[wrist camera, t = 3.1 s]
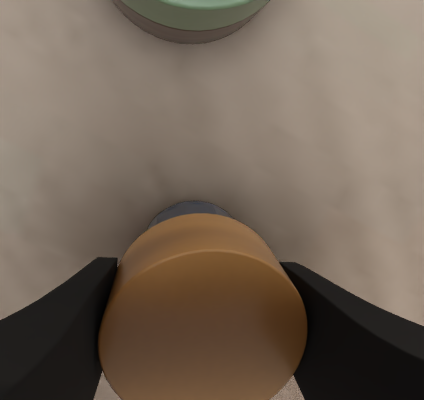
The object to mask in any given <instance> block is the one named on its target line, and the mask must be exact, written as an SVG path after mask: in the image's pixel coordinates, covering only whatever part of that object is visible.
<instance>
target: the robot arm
mask: <svg viewBox="0 0 424 400" xmlns="http://www.w3.org/2000/svg"><path fill="white" fill-rule="evenodd" d="M279 263H280V265H281V266H282V268H283V269H284V271H285V272H286V274H287V275H288V277H289V279H290V280H291V282H292V283H293V285H294V286H295V288H296V289H297V291H298V293H299V295H300V297H301V298H302V301H303V304H304V307H305V310H306V316H307V327H308V334H307V342H306V347H305V350H304V354H303V356H302V359H301V361H300V363H299V366H298V367H297V369H296V371H295V372H294V374H293V375H294V377H295V379H296V382H297V384H298V386H299V388H300V390H301V392H302V395H303V397H304V399H305V400H424V326H422V325H419V324H416V323H414V322H411V321H409V320H406V319H404V318H402V317H399V316H397V315H395V314H392V313H390V312H388V311H386V310H383V309H381V308H379V307H377V306H375V305H373V304H371V303H369V302H367V301H365V300H363V299H361V298H359V297H357V296H355V295H353V294H352V293H350V292H348V291H346V290H344V289H343V288H341V287H339V286H337V285H336V284H334V283H332V282H330V281H329V280H327V279H325V278H323V277H322V276H320V275H318V274H317V273H315V272H313V271H311V270H310V269H308V268H306V267H304V266H302V265H300V264H298V263H295V262H279ZM116 271H117V258H107V257H98V258H96V259H95V260H93V261H92V262H91V263H89V264H88V265H87V266H86V267H84V268H83V269H82V270H80V271H79V272H78V273H76V274H75V275H74V276H72V277H71V278H70V279H68V280H67V281H66V282H64V283H63V284H61V285H60V286H58V287H57V288H55V289H54V290H52V291H51V292H49V293H48V294H46V295H45V296H43V297H42V298H40V299H39V300H37V301H35V302H34V303H32V304H30V305H29V306H27V307H25V308H23V309H21V310H19V311H18V312H16V313H14V314H12V315H10V316H8V317H6V318H4V319H2V320H0V400H93V399H94V396H95V392H96V389H97V386H98V383H99V380H100V377H101V373H102V368H101V364H100V360H99V355H98V333H99V329H100V325H101V321H102V317H103V314H104V311H105V307H106V304H107V301H108V298H109V294H110V291H111V288H112V284H113V281H114V278H115V275H116Z"/></svg>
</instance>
